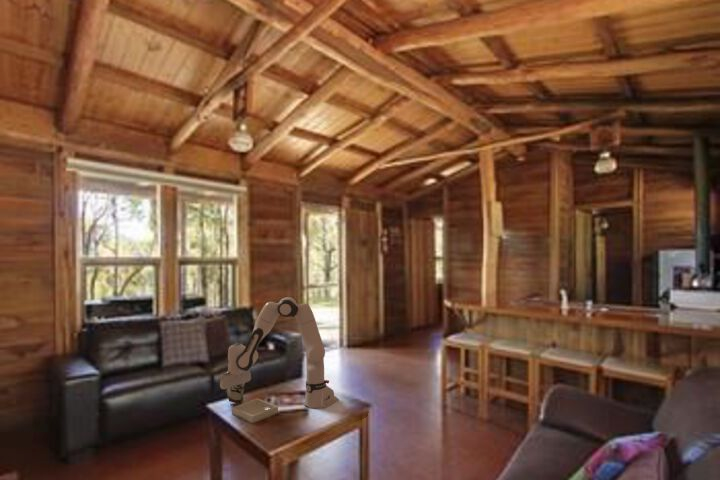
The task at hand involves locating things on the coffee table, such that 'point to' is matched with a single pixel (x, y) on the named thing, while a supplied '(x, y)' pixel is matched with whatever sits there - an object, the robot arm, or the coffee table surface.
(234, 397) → the food container
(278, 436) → the coffee table surface
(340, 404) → the coffee table surface
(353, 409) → the coffee table surface
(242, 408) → the tray
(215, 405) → the coffee table surface
